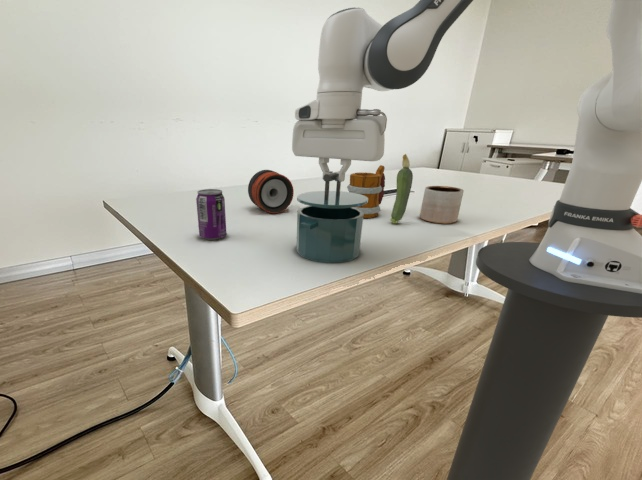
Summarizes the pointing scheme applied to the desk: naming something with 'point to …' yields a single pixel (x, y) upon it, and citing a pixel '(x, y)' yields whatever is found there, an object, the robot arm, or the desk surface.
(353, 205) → the lid
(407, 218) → the desk surface
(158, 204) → the desk surface
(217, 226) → the beverage can
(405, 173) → the vegetable
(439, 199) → the planter
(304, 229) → the pot
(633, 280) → the robot arm
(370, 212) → the mug
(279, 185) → the oil filter
